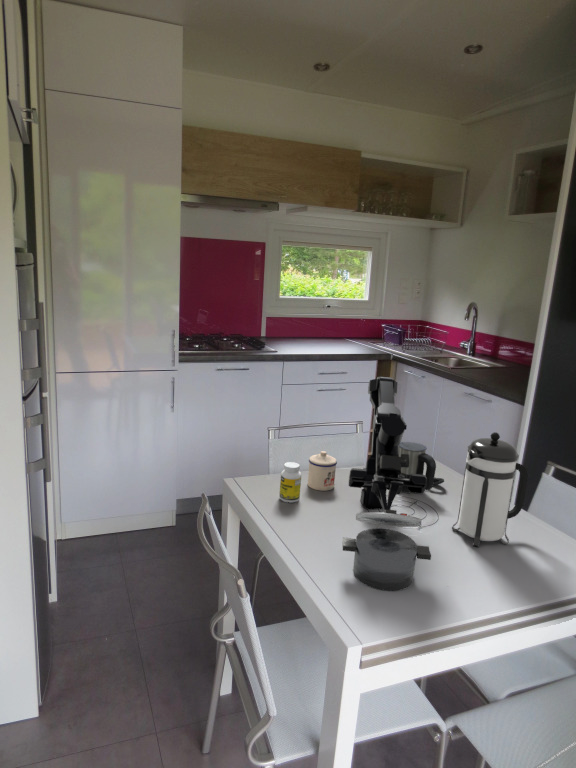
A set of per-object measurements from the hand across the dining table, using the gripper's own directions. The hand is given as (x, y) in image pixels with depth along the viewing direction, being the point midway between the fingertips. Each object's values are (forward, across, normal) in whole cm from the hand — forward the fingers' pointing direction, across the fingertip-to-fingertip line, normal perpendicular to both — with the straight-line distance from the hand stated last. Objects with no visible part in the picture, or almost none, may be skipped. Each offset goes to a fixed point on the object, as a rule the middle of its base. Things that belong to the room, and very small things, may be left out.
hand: (386, 513), depth 129 cm
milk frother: (-28, +16, +45) cm, 55 cm away
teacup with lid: (-24, -16, +41) cm, 50 cm away
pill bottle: (-14, -25, +31) cm, 42 cm away
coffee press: (-6, +29, +23) cm, 38 cm away
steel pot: (+12, 0, +6) cm, 14 cm away
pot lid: (+3, 0, -3) cm, 4 cm away
